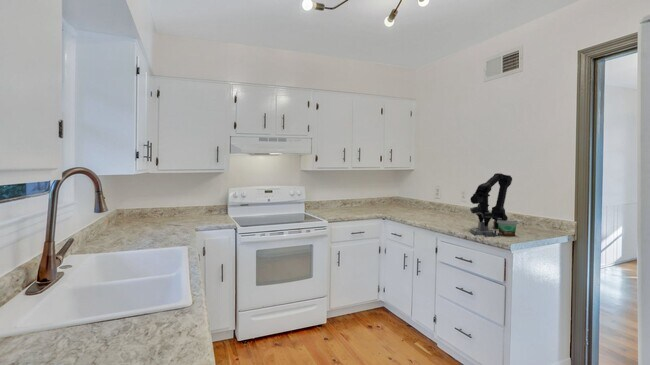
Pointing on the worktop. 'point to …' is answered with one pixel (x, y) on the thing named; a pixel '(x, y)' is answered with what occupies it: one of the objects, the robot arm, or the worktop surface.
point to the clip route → (491, 235)
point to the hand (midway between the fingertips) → (483, 225)
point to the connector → (482, 226)
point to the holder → (488, 232)
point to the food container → (507, 227)
